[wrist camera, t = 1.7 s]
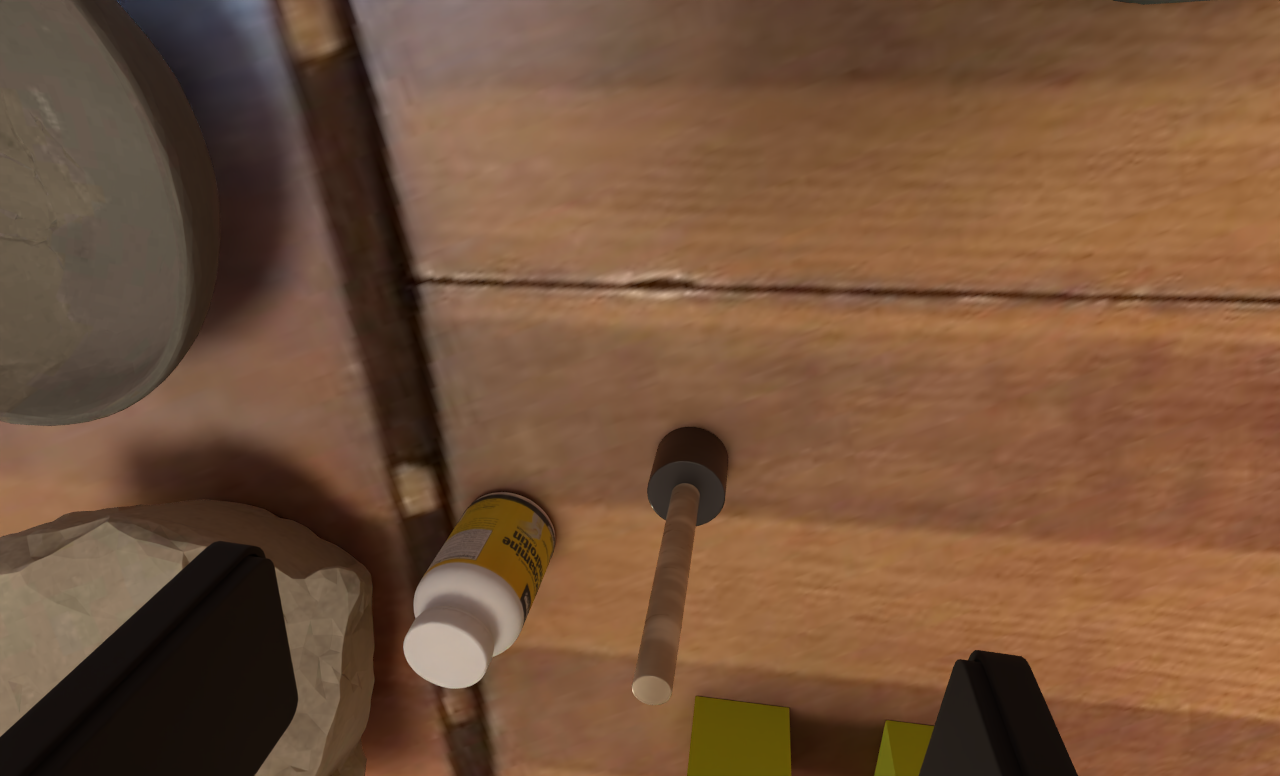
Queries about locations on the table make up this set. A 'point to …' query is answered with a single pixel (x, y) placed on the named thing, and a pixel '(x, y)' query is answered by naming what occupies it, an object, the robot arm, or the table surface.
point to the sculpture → (143, 564)
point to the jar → (1156, 1)
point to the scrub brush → (676, 547)
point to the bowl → (96, 214)
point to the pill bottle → (479, 589)
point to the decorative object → (780, 741)
